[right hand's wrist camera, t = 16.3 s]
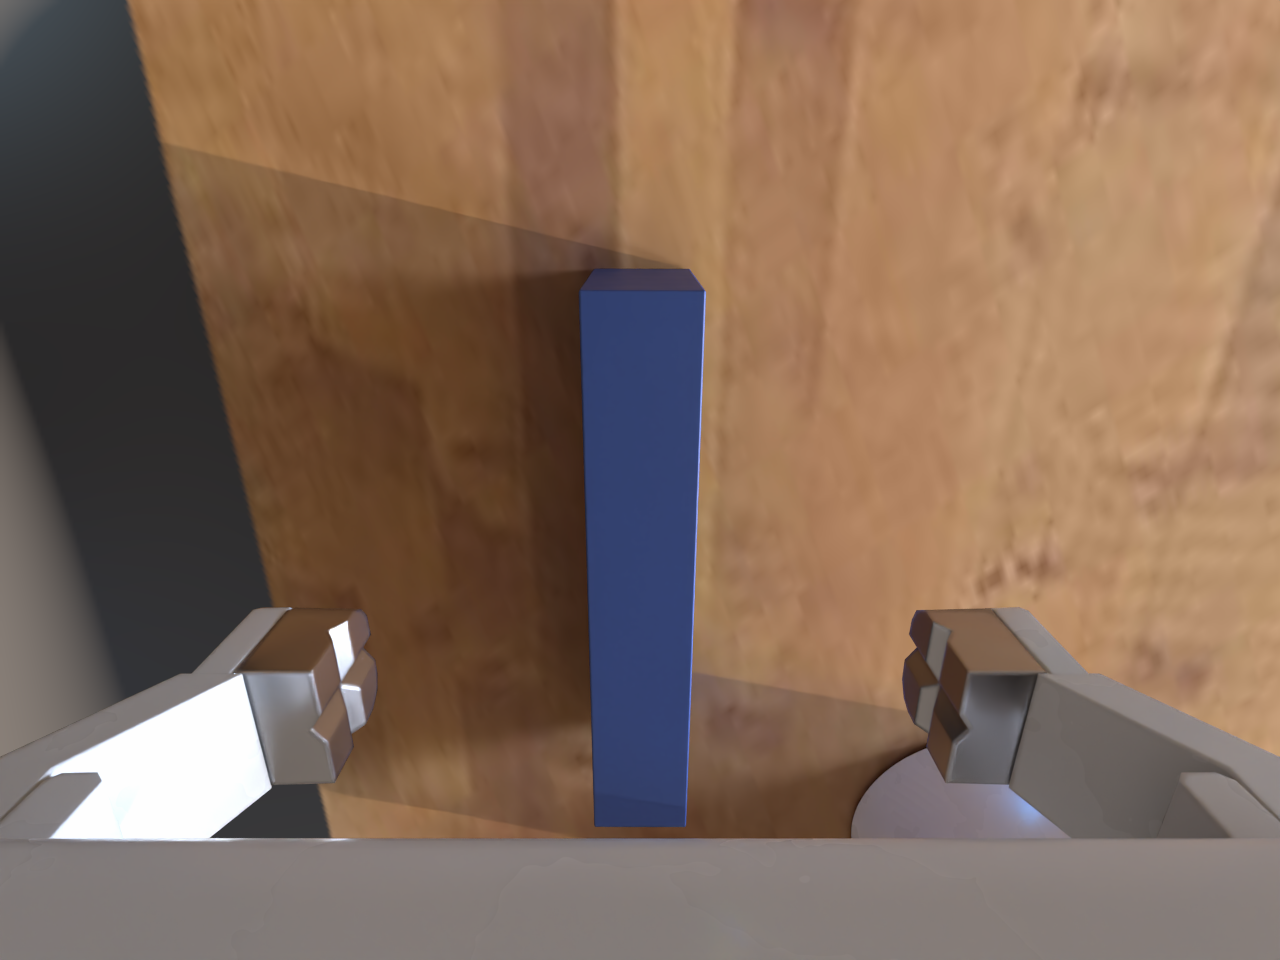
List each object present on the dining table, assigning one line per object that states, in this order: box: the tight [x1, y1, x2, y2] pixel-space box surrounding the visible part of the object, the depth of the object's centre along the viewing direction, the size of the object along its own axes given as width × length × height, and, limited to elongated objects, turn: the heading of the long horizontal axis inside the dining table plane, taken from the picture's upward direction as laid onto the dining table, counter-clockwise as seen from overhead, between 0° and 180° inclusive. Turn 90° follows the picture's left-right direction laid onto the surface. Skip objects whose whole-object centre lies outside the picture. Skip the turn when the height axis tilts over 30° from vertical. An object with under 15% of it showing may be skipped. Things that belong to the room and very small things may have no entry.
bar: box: [579, 269, 706, 827], centre depth 34 cm, size 26×5×9 cm, turn 0°
